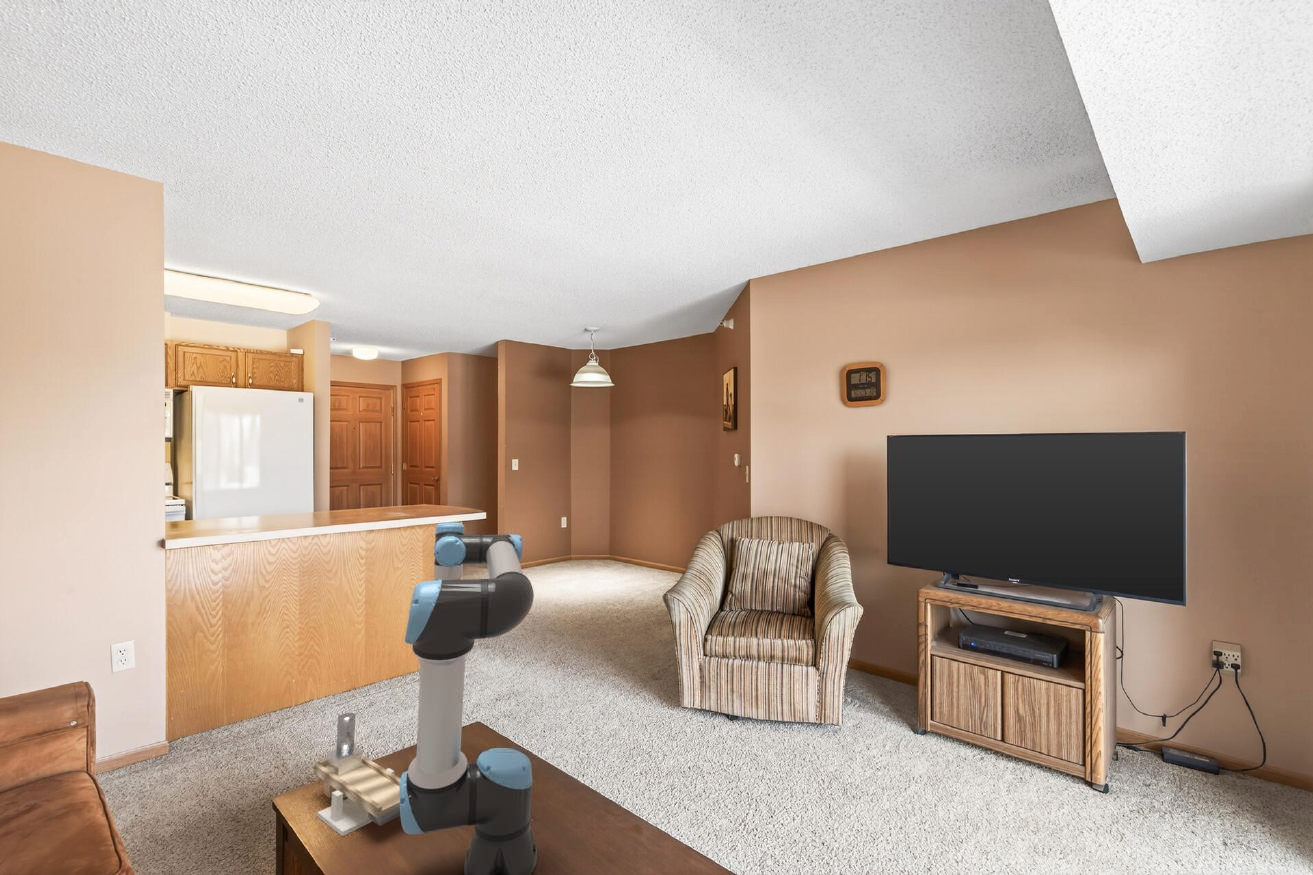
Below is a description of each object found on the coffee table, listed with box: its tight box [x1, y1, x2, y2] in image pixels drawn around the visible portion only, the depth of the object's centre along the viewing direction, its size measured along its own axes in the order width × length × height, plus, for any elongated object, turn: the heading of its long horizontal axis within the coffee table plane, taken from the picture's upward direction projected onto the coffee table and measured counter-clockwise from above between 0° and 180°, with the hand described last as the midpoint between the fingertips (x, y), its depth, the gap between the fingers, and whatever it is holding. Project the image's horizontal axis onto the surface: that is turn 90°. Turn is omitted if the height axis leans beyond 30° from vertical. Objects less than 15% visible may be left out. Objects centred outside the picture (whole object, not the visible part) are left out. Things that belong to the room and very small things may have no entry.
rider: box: [326, 712, 364, 776], centre depth 153 cm, size 6×6×13 cm
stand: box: [317, 767, 395, 837], centre depth 149 cm, size 20×16×7 cm
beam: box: [313, 754, 401, 827], centre depth 147 cm, size 30×11×5 cm, turn 54°
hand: (444, 657), depth 163 cm, fingers open, 13 cm apart
